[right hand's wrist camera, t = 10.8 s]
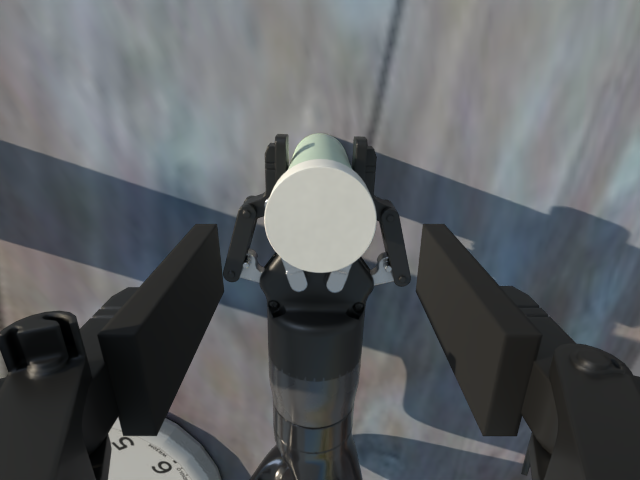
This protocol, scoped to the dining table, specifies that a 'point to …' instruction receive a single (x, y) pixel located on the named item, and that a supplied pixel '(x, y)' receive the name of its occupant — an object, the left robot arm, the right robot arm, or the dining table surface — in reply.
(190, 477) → the wall clock
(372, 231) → the lid
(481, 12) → the dining table surface
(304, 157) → the pale green cylinder
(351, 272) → the left robot arm
